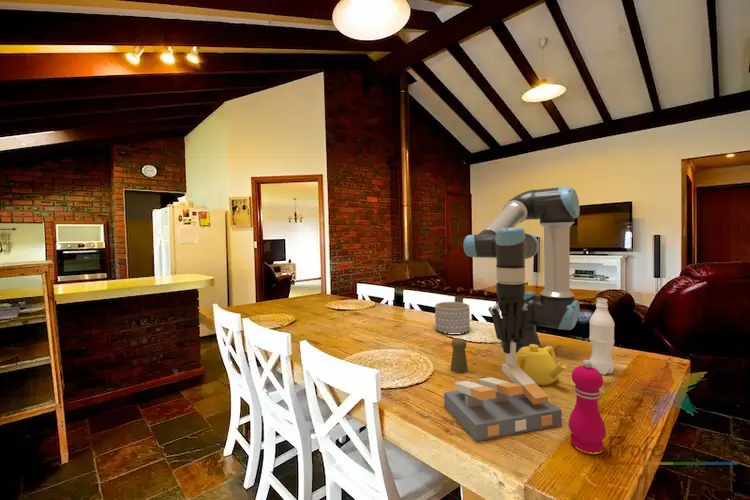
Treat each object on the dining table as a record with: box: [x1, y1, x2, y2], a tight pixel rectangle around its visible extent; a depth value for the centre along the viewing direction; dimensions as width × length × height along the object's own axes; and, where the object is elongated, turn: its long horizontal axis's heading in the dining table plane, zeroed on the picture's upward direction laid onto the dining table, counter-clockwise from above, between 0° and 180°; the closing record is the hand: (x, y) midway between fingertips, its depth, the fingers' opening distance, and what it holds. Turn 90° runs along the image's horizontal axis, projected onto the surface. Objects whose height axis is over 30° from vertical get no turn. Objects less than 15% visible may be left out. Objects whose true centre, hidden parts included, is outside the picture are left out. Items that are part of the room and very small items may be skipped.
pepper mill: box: [568, 359, 607, 453], centre depth 77 cm, size 7×7×20 cm
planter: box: [434, 301, 471, 334], centre depth 168 cm, size 16×16×13 cm
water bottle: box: [588, 298, 616, 376], centre depth 116 cm, size 7×7×25 cm
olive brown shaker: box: [450, 338, 469, 374], centre depth 121 cm, size 6×6×11 cm
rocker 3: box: [501, 363, 549, 405], centre depth 93 cm, size 4×14×2 cm, turn 14°
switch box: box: [443, 381, 562, 442], centre depth 91 cm, size 24×17×6 cm
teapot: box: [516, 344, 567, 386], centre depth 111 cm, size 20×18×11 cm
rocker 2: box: [478, 377, 523, 396], centre depth 91 cm, size 4×14×2 cm, turn 14°
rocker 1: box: [454, 380, 496, 400], centre depth 89 cm, size 4×14×2 cm, turn 14°
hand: (510, 363), depth 98 cm, fingers closed
